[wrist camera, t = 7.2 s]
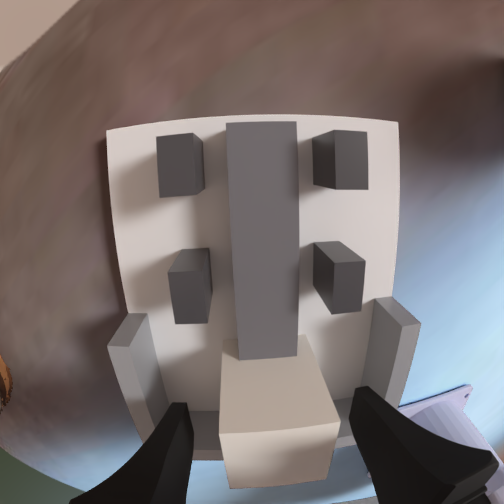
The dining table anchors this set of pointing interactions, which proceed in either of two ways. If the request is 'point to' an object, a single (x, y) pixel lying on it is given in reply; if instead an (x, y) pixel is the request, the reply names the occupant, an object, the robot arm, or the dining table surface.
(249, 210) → the cream block gray bar
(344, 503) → the white display stand
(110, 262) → the dining table surface
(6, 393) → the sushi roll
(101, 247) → the dining table surface
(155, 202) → the board
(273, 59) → the dining table surface
